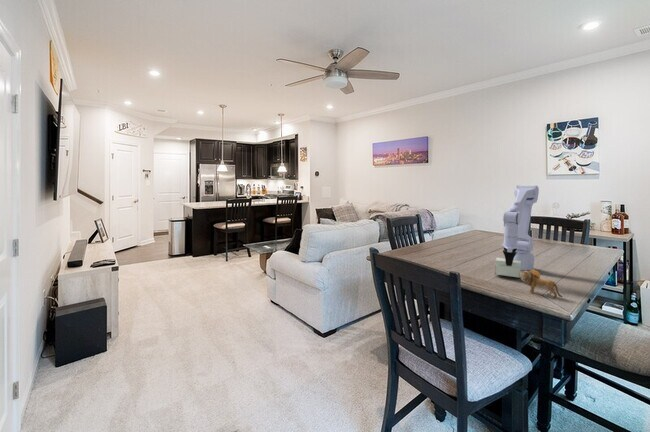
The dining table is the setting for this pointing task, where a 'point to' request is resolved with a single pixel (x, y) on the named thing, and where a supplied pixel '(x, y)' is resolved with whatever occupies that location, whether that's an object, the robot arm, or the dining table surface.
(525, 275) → the lion figurine
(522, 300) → the dining table surface
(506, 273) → the pale green block
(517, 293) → the dining table surface
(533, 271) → the ball
